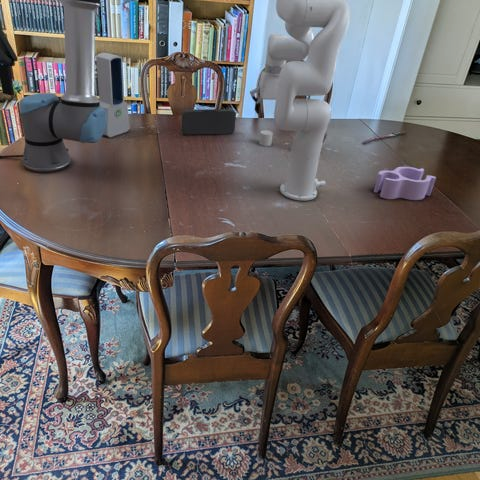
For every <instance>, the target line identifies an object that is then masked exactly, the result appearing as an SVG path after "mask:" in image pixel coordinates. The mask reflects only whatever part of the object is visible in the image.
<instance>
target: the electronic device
mask: <svg viewBox="0 0 480 480" xmlns="http://www.w3.org/2000/svg"><path fill="white" fill-rule="evenodd" d="M95 63H96V77H97V87H98V89H97V91H98V99H99V100H100V107H102V108H103V109H105V111H106V114H107V123H106V128H105V131H104V134H103V135H102V136H105V137H107V138H112V137H115V136H118V135H122V134H124V133H126V132H129V130H130V128H131V126H130V116H129V108H128V103H127V102H126V101H125V92H124V91H125V86H124V65H123V57H122V56H120V55H115V54H112V53H109V52H100V53H98V54H97V55H95Z"/></svg>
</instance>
